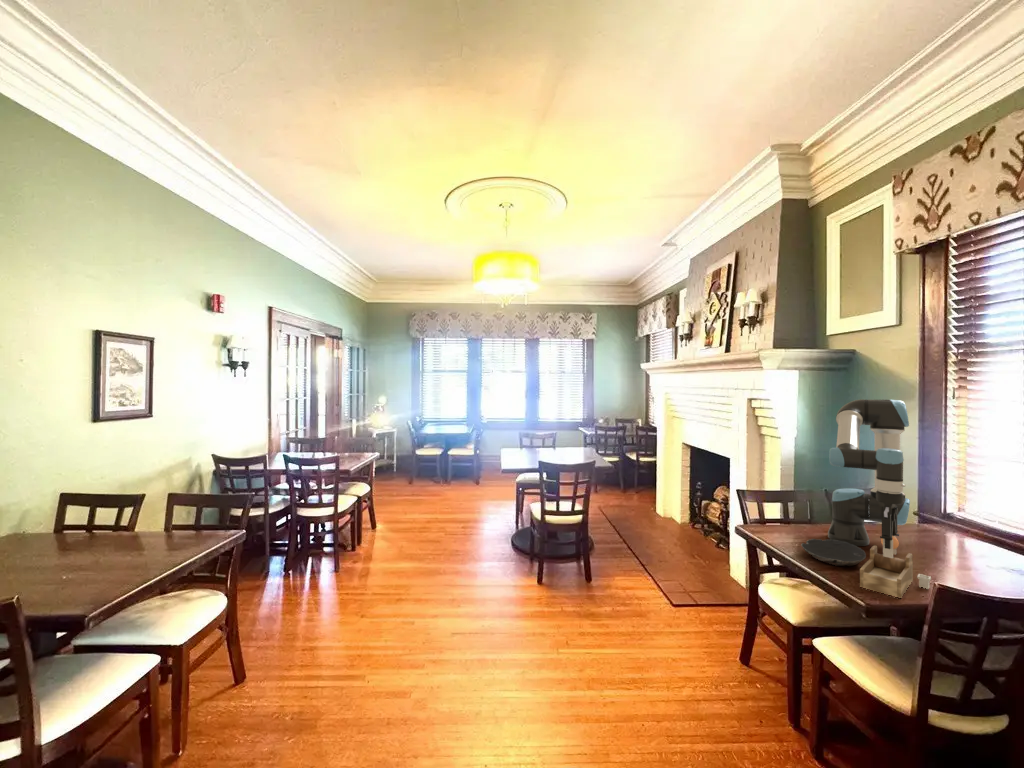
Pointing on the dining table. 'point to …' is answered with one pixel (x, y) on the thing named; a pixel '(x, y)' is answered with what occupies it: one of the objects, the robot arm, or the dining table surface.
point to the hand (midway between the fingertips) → (889, 555)
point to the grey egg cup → (924, 581)
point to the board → (834, 552)
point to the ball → (895, 542)
